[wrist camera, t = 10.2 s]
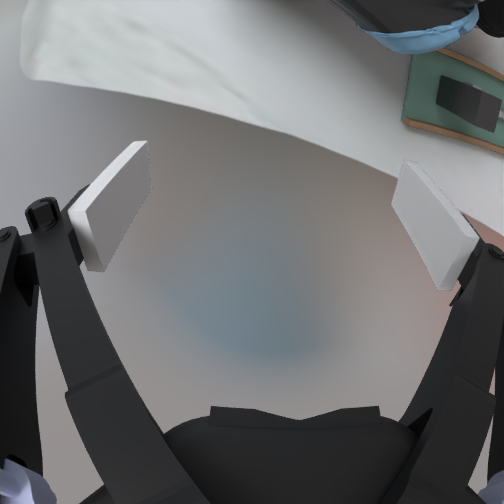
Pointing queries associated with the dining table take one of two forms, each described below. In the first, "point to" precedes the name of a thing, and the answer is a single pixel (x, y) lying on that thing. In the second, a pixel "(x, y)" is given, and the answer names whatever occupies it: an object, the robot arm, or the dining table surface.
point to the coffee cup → (491, 17)
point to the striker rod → (470, 103)
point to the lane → (438, 118)
